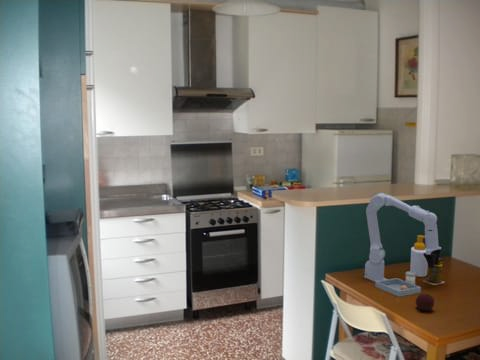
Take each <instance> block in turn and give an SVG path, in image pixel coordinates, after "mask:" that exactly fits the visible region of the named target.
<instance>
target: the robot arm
mask: <svg viewBox="0 0 480 360" xmlns="http://www.w3.org/2000/svg"><path fill="white" fill-rule="evenodd" d="M383 206H385V207H389V206H392V207H395V208H397V209H399V210H402V211H404V212H406V213H408V216H409V217H412V219H415V220H417V221H419V222H421V223H422V222H423V224H424V236H425V238H424V240H425V241H424V242H425V248H426V253H424V254H423V255H424V257H425V258H426V260H427V263H428V265H427V268H428V269H429V268H434V264H438V262H439V258H440V256H441V252H442V247H441V246H439V233H438V225H437V221H438V216H437V215H436V214H435V213H434V212H430V210H425V209H423V208H421V207H420V206H419V205H410V204H407V203H405V202H404V201H402V200H400V199H398V198H397V197H394V196H392V195H390V194H386V193H385V192H379V193H377V194H375V195H374V196H372V197H371V199H369V202H368V205H367V206H366V209H365V214H366V215H365V216H366V220H367V221H366V222H367V229H368V236H369V241H370V248H369V255H368V257H369V258H368V259H369V260H367V261H366V262H365V264H364V276H363V278H364V279H367V280H369V281H373V282H374V283H375V282H377V281H383V280H389V278H386V277H385V260H384V258H385V257H386V251H385V250H384V248H383V244H382V242H381V235H380V227H379V222H378V221H379V220H378V214H377V213H378V211H379V210H380V208H382V207H383Z"/></svg>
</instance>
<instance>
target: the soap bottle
mask: <svg viewBox="0 0 480 360" xmlns="http://www.w3.org/2000/svg"><path fill="white" fill-rule="evenodd" d="M416 238H417V239H416V240H417V241H416V242H414V244H413V246H412V247H411V248H410V269H409V271H412V272H415V273H416V276H415V277H419V278H424V277H426V276H427V275H428V263H427V260H426V258H425V257H424V255H423V254H424V253H426V243H424V242H423V239H425V235H420V234H419V235H417V237H416Z"/></svg>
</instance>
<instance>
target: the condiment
mask: <svg viewBox="0 0 480 360" xmlns="http://www.w3.org/2000/svg"><path fill="white" fill-rule="evenodd" d="M428 269H429V270H428V272H429V273H428V275H429V276H428V279H425V280H423V282H424V283H427V284H429V285H432V286H433V285H434V286H436V285H441V284H444V283H446V282H445V281H443V280H442V279H443V259H442V258H440V257H439V262H438V264H434V268H429V267H428ZM430 282H431V283H430ZM434 283H435V284H434Z"/></svg>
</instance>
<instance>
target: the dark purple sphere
mask: <svg viewBox="0 0 480 360" xmlns="http://www.w3.org/2000/svg"><path fill="white" fill-rule="evenodd" d="M415 304H416V307H417V308H418V309H419V310H421V311H422V312H423V311H426V312H427V311H431V310H432V309H433V308H434V305H435V299H434V297H433V296H432V295H431V294H428V293H421V294H420V293H419V295H417V297H416V299H415Z"/></svg>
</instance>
